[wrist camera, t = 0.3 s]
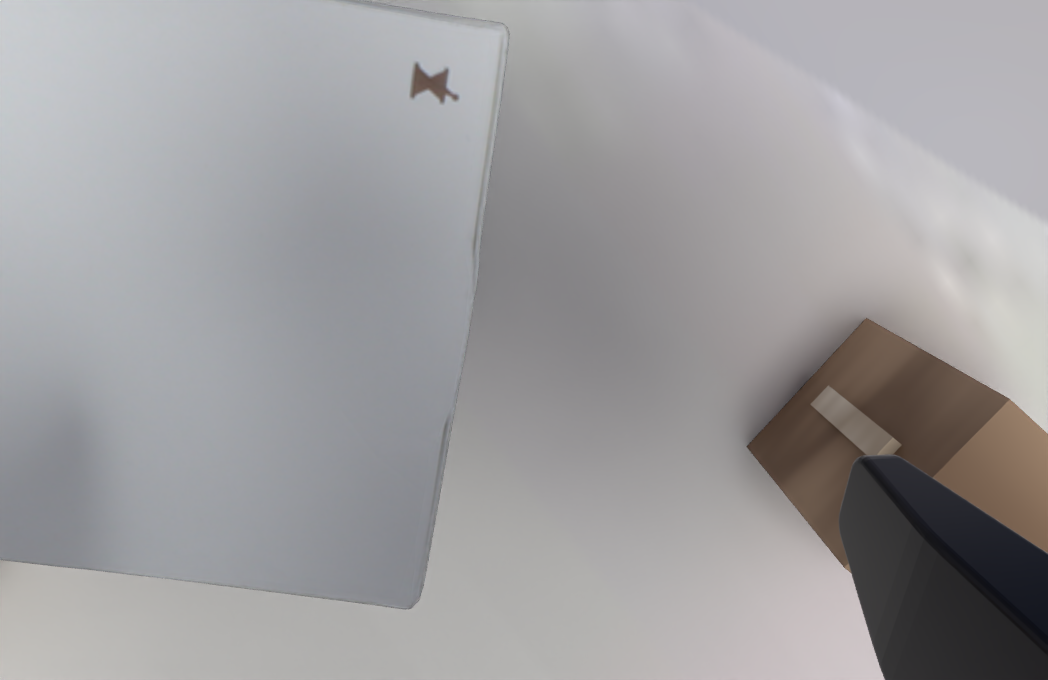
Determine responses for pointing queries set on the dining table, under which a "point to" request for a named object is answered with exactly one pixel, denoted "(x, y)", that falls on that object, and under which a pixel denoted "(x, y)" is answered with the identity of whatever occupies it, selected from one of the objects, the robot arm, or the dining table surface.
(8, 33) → the small box
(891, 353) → the walnut block one
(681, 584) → the dining table surface
